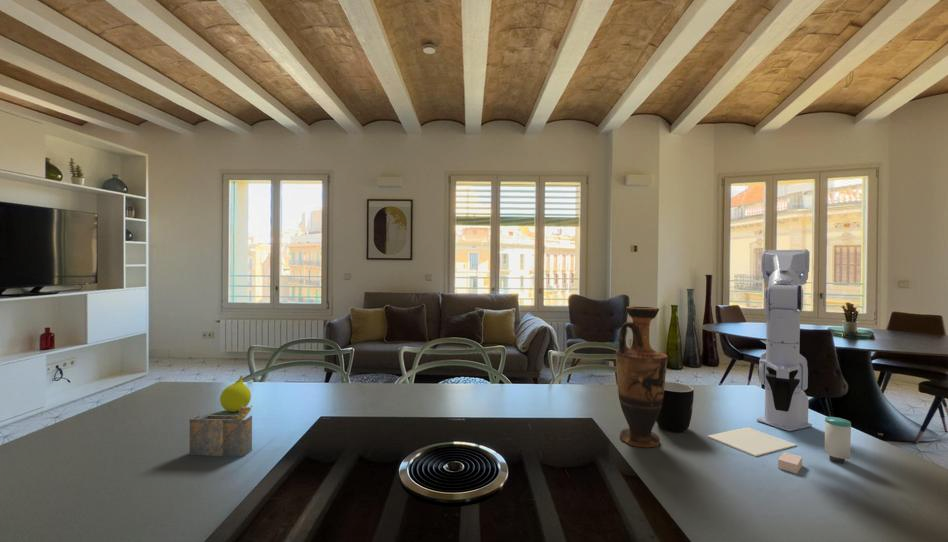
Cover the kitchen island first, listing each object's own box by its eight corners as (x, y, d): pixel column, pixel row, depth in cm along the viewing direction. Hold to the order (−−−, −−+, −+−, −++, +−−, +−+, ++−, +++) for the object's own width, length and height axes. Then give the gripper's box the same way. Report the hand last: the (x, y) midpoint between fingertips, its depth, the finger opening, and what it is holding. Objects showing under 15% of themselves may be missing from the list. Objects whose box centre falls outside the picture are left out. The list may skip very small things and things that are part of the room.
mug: (698, 436, 98) (699, 392, 98) (658, 433, 100) (658, 390, 100) (681, 418, 110) (682, 379, 110) (645, 416, 112) (646, 377, 112)
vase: (666, 436, 98) (668, 306, 98) (665, 454, 88) (668, 310, 88) (617, 428, 103) (618, 304, 103) (611, 444, 93) (613, 307, 93)
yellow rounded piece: (252, 405, 116) (252, 369, 116) (249, 414, 110) (249, 375, 110) (222, 408, 114) (223, 371, 114) (217, 417, 107) (217, 377, 107)
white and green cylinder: (831, 454, 89) (832, 415, 89) (854, 462, 86) (855, 422, 86) (820, 457, 88) (820, 418, 88) (843, 466, 84) (844, 425, 84)
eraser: (783, 461, 86) (783, 451, 86) (802, 466, 84) (802, 456, 84) (778, 469, 83) (778, 459, 83) (797, 475, 81) (797, 464, 81)
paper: (747, 428, 104) (747, 427, 104) (796, 445, 94) (796, 444, 94) (707, 436, 98) (707, 435, 98) (755, 456, 88) (755, 455, 88)
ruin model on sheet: (253, 451, 89) (253, 405, 89) (244, 458, 86) (244, 410, 86) (199, 450, 89) (199, 404, 89) (189, 457, 86) (189, 409, 86)
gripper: (760, 335, 98) (759, 393, 98) (758, 344, 86) (757, 411, 87) (799, 338, 94) (798, 399, 94) (802, 348, 82) (801, 418, 82)
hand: (781, 405), depth 90 cm, fingers open, 7 cm apart
